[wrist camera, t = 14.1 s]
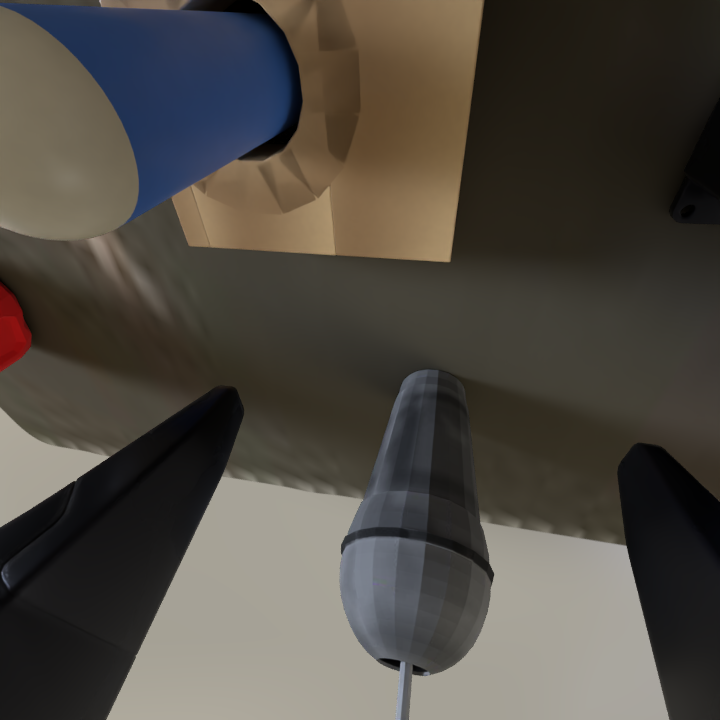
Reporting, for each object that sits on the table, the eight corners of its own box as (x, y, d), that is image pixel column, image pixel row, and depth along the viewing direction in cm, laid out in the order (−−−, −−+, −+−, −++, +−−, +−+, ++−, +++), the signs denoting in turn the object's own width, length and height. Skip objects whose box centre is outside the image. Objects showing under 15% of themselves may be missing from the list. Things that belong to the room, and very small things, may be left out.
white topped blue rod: (304, 10, 14) (-63, -15, 4) (316, 131, 17) (104, 282, 7) (209, 16, 15) (-282, 5, 5) (235, 130, 18) (-58, 266, 8)
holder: (505, -173, 11) (513, -223, 8) (452, 234, 19) (450, 262, 16) (110, -115, 13) (39, -141, 11) (213, 223, 21) (184, 246, 19)
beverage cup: (484, 350, 23) (504, 915, 8) (489, 426, 27) (508, 883, 13) (371, 356, 25) (235, 804, 11) (392, 425, 30) (317, 809, 15)
